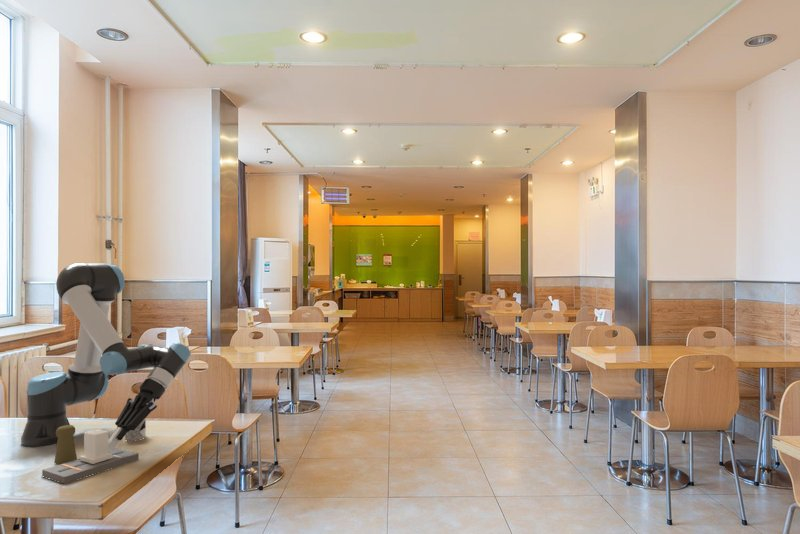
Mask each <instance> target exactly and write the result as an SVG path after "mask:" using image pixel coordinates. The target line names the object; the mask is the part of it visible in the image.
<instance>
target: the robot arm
mask: <svg viewBox="0 0 800 534" xmlns="http://www.w3.org/2000/svg"><path fill="white" fill-rule="evenodd" d="M124 275H125V274H124V273H123V272H122V270H121V268H120V267H118V266H117V265H114V264H109V263H104V262H102V263H89V262H88V263H86V262H85V263H82V262H78V263H77V262H76V263H71V264H69V265H67V266H66V267H64V268H63V269H62V270H61V271H60V273H58V275H57V279H56V285H55V286H56V291H57V294H58V297H59V299H60V300H61V301H62V302H63V303H64V304H65V305H68V306H69V307H70V309H71V310H72V312H73V313H74V315H75V316H76V318H77V319H78V321H79V323H80V324H79V330H78V336H77V342H76V343H77V344H76V348H75V357H74V362H73V363H71V364H70V365H69V366H68V370H67V373H66V372H65V371H54V372H53V371H52V372H48V373H47V372H46V373H42V374H40V375H36V376H34V377H32V378H31V379H29V381H28V383H27V387H26V398H27V399H26V400H27V401H26V405H27V407H26V410H27V413H26V416H27V418H26V419H27V420H26V423H25V426H24V428H23V432H22V434H21V438H20V445H22V446H25V447H38V446H39V447H40V446H45V445H47V446H48V445H52V444H57V441H58V437H57V436H56V430H57V429H58V428H59V427H61V426H65V425H71V424H70V421H69V419H68V417H67V407H69V406H73V405H77V404H81V403H82V404H83V403H86V402H92V401H94V400H97V399H99V398H100V397H102V396H104V394H105V393H106V392H107V390H108V387H109V377H108V375H109V376H110V375H119V374H125V373H128V372H133V371H139V370H144V369H148V368H152V370H151V371H150V373H148V375H147V378H146V379H145V380H144V381H143V382H142V383H141V385H140V386H139V392H138V393H137V394H136V395H135V397H134V398H131V397H129V398H128V399H127V400H126V403H125V406H124V407H123V409H122V411H121V412H120V414H119V416H118V417H117V419H116V420H115V421H116V422H115V423H114V424H115V425H116V429H115V430H114V432H113V433H112V434H111V436H110V437H109V450H111V451H113V450H114V449H115V448H117V446H118V445H119V444H120V442H121V441H122V440H123V438H125V435H126V433H127V432H129V431H130V430H132V431H134V430H135V429H136V428H137V427H138V425H139V424H140V423H141V422H142V421H143V420H144V419H146V418H147V417H148V416H149V415H150V414H151V413H152V412H153V411H154V410H156V409H157V407H158V406H157V404H156V403H155V402H156V400H159V399H161V397H162V396H163V395H164V393H165V392H166V389H168V388H169V386H170V384H171V383H172V382H173V381H174V379H175V378H176V376H177V375H178V374H179V373H180V371H181V370H182V369H183V367H184V366H185V364H187V361H188V359H190V356H191V354H192V352H191V350H190V349H189V348H188V347H187V346H186V345H184V344H182V343H180V342H175V341H174V343H172V344H171V345H169V347H163V346H157V345H153V344H147V343H143V344H140V345H139V346H137V347H135V348H128V346H127V345H126V344H125V342H124V341H123V339H122V338H121V336H120V335H119V333H118V332H117V330H116V329H115V328H114V327H115V326H113V325H112V323H111V321H110V319H109V318H108V317H109V316H108V315H109V310H110V305H111V304H112V303H113V302H115V300H116V295H117V294H121V292H122V291H123V290H124V288H125V283H126V282H125V276H124Z"/></svg>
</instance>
